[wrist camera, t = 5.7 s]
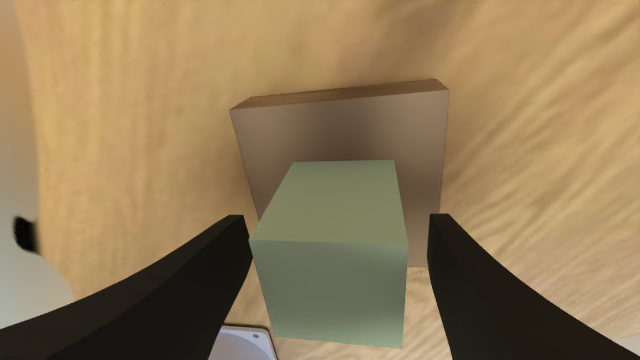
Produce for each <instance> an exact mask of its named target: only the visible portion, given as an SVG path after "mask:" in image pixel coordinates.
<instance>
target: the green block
mask: <svg viewBox="0 0 640 360" xmlns="http://www.w3.org/2000/svg"><path fill="white" fill-rule="evenodd" d="M249 244H250V248H251V251H252V255H253V259H254V262H255V266H256V270H257V274H258V277H259V281H260V285H261V288H262V292H263V296H264V300H265V303H266V307H267V311H268V314H269V318H270V322H271V326H272V329H273V333H274V336H275V337H285V338H296V339H306V340H316V341H327V342H337V343H347V344H358V345H368V346H378V347H389V348H399V349H402V340H403V324H404V308H405V291H406V275H407V259H408V239H407V233H406V228H405V222H404V216H403V210H402V204H401V198H400V192H399V186H398V180H397V174H396V168H395V162H394V160H358V161H313V162H293V164H292V165H291V167H290V169H289V171H288V172H287V174H286V176H285V177H284V179H283V181H282V183H281V184H280V186H279V188H278V190H277V191H276V193H275V195H274V196H273V198H272V200H271V202H270V203H269V205H268V207H267V209H266V210H265V212H264V214H263V215H262V217H261V219H260V221H259V222H258V224H257V226H256V228H255V229H254V231H253V233H252V234H251V236H250V238H249Z"/></svg>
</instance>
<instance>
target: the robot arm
mask: <svg viewBox="0 0 640 360" xmlns="http://www.w3.org/2000/svg"><path fill="white" fill-rule="evenodd" d="M249 238H250V237H249V233H248V230H247V227H246V223H245V220H244V216H243V215H228V216H226V217H225V218H223V219H221V220H220V221H218V222H217V223H215V224H214V225H212V226H211V227H209V228H208V229H206V230H205V231H203V232H202V233H200V234H199V235H197V236H196V237H194V238H193V239H191V240H190V241H188V242H187V243H185V244H184V245H182V246H181V247H179V248H178V249H176V250H174V251H173V252H171V253H170V254H168V255H166V256H165V257H163V258H162V259H160V260H158V261H157V262H155V263H153V264H152V265H150V266H148V267H146V268H144V269H143V270H141V271H139V272H137V273H135V274H133V275H131V276H130V277H128V278H126V279H124V280H122V281H120V282H118V283H115V284H113V285H111V286H109V287H107V288H105V289H103V290H100V291H98V292H96V293H94V294H92V295H90V296H87V297H85V298H83V299H80V300H78V301H76V302H73V303H71V304H68V305H66V306H63V307H61V308H58V309H56V310H53V311H51V312H48V313H45V314H43V315H40V316H37V317H34V318H32V319H29V320H26V321H23V322H20V323H17V324H14V325H11V326H8V327H5V328H3V329H0V360H277V358H276V355H275V352H274V349H273V345H272V342H271V339H270V336H269V333H268V331H267V330H265V329H260V328H248V327H235V326H222V325H223V323H224V321H225V319H226V317H227V315H228V313H229V311H230V309H231V307H232V305H233V303H234V301H235V299H236V297H237V295H238V293H239V291H240V289H241V287H242V285H243V283H244V281H245V279H246V277H247V274H248V271H249V268H250V266H251V262H252V259H253V255H252V251H251V248H250V244H249ZM427 262H428V269H429V275H430V280H431V285H432V289H433V292H434V296H435V299H436V302H437V306H438V309H439V313H440V316H441V319H442V323H443V326H444V330H445V333H446V336H447V340H448V343H449V347H450V351H451V355H452V359H453V360H640V356H638V355H637V354H635V353H633V352H631V351H629V350H627V349H626V348H624V347H622V346H620V345H619V344H617V343H615V342H613V341H612V340H610V339H608V338H607V337H605V336H603V335H602V334H600V333H598V332H597V331H595V330H593V329H592V328H590V327H588V326H587V325H585V324H584V323H582V322H581V321H579V320H577V319H576V318H574V317H573V316H571V315H570V314H568V313H566V312H565V311H563V310H562V309H560V308H559V307H557V306H556V305H554V304H553V303H551V302H550V301H548V300H547V299H546V298H544V297H543V296H541V295H540V294H539V293H537V292H536V291H535V290H533V289H532V288H530V287H529V286H528V285H526V284H525V283H524V282H522V281H521V280H520V279H518V278H517V277H516V276H515V275H513V274H512V273H511V272H510V271H508V270H507V269H506V268H505V267H504V266H502V265H501V264H500V263H499V262H498V261H497V260H495V259H494V258H493V257H492V256H491V255H490V254H489V253H488V252H487V251H486V250H484V249H483V248H482V247H481V246H480V245H479V244H478V243H477V242H476V241H475V240H474V239H473V238H472V237H471V236H470V235H469V234H468V233H467V232H466V231H465V230H464V229H463V228H462V227H461V226H460V225H459V224H458V223H457V222H456V221H455V220H454V219H453V218H452V217H451V216H450V215H449V214H430V217H429V231H428V246H427Z"/></svg>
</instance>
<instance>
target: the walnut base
mask: <svg viewBox="0 0 640 360" xmlns="http://www.w3.org/2000/svg"><path fill="white" fill-rule="evenodd" d="M448 101H449V89H448V88H447V87H445V86H444V85H443V84H442V83H440V82H439V81H438V80H437V79H432V80H421V81H411V82H401V83H391V84H381V85H371V86H361V87H351V88H340V89H330V90H320V91H310V92H300V93H290V94H280V95H270V96H259V97H250V98H249V99H247V100H245V101H244V102H242V103H240V104H238V105H237V106H235V107H233V108H232V109H230V110H229V112H230V115H231V119H232V123H233V127H234V130H235V134H236V138H237V141H238V145H239V149H240V152H241V156H242V160H243V163H244V167H245V171H246V174H247V178H248V182H249V185H250V189H251V193H252V196H253V200H254V204H255V208H256V211H257V215H258V219H259V221H260V219H261V217H262V215H263V214H264V212H265V210H266V209H267V207H268V205H269V203H270V202H271V200H272V198H273V196H274V195H275V193H276V191H277V190H278V188H279V186H280V184H281V183H282V181H283V179H284V177H285V176H286V174H287V172H288V171H289V169H290V167H291V165H292V164H293V162H313V161H358V160H394V162H395V168H396V174H397V180H398V186H399V192H400V198H401V204H402V210H403V216H404V222H405V228H406V233H407V239H408V259H407V267H427V268H428V262H427V246H428V231H429V217H430V214H439V210H440V198H441V186H442V174H443V162H444V150H445V137H446V125H447V113H448Z"/></svg>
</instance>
